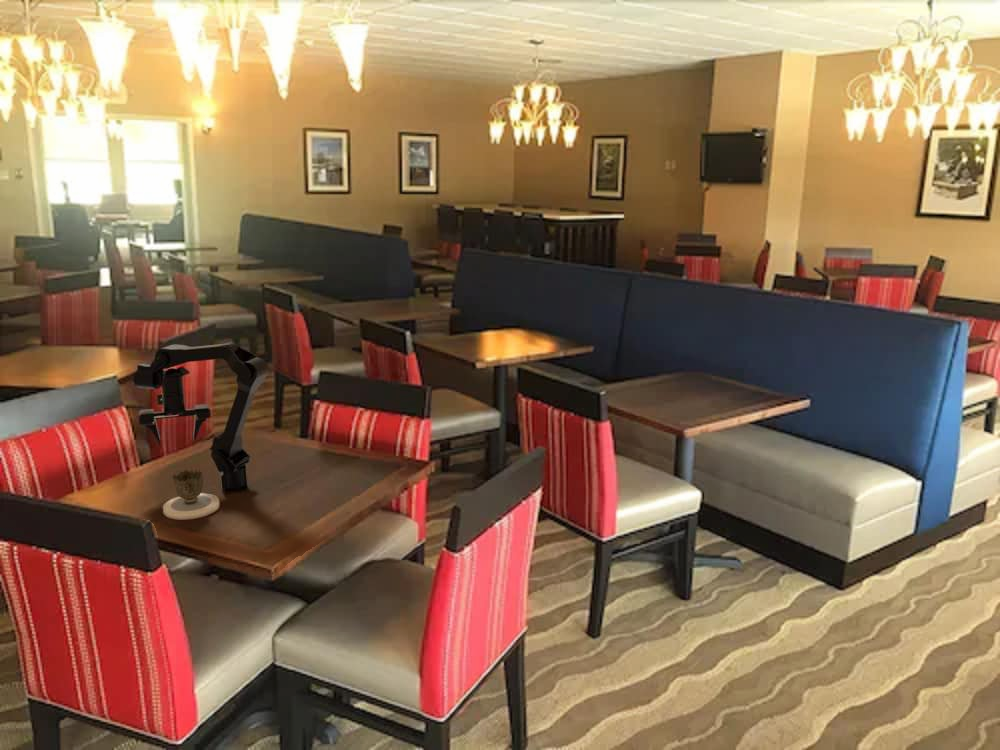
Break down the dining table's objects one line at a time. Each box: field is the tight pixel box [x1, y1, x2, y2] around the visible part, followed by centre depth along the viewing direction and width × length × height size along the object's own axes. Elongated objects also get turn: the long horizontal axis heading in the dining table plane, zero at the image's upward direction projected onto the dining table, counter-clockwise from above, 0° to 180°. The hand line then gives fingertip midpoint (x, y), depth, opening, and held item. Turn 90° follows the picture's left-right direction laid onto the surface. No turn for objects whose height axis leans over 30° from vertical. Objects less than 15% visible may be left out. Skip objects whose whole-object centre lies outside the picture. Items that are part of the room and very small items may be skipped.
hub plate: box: [162, 492, 220, 521], centre depth 214 cm, size 14×14×2 cm
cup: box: [172, 469, 204, 504], centre depth 213 cm, size 8×7×8 cm
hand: (177, 442), depth 229 cm, fingers open, 9 cm apart
